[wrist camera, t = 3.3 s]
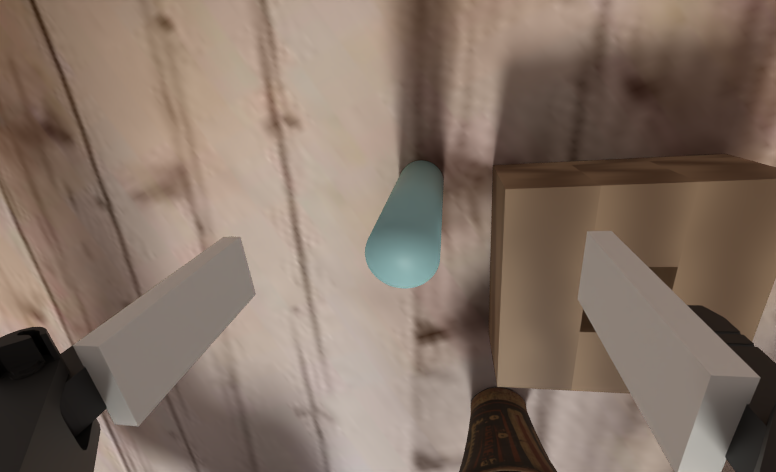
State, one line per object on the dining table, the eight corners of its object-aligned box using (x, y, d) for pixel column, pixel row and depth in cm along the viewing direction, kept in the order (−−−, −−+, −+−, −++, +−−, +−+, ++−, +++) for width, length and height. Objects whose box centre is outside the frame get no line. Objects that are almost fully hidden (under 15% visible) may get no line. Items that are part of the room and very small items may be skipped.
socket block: (488, 331, 30) (497, 386, 25) (493, 165, 25) (505, 189, 20) (675, 336, 28) (730, 398, 23) (725, 153, 23) (813, 177, 17)
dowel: (400, 204, 27) (369, 288, 16) (397, 161, 26) (361, 221, 15) (444, 202, 27) (441, 288, 16) (442, 159, 25) (439, 219, 15)
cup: (448, 453, 36) (453, 568, 26) (441, 375, 34) (443, 469, 24) (542, 454, 35) (583, 576, 25) (541, 372, 32) (585, 471, 23)
